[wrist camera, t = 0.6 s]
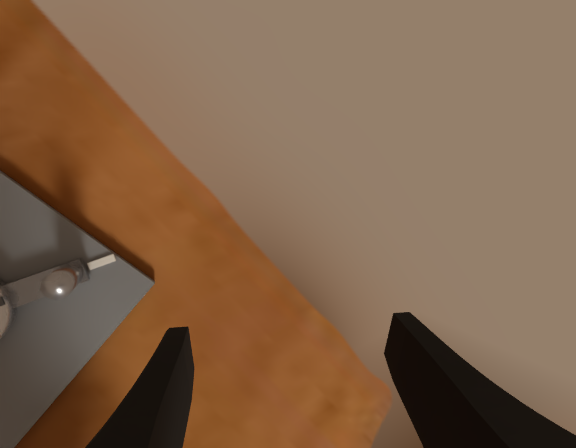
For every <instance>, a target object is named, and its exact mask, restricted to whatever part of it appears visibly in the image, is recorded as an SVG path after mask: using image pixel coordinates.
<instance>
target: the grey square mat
mask: <svg viewBox="0 0 576 448" xmlns="http://www.w3.org/2000/svg"><path fill="white" fill-rule="evenodd" d="M78 258H82V260H83V263H84V265H85V267H86V270H87V272H88V274H89V276H90V279H89V280H88V281H86V282H83V283H80V284H78V285H77V286H76V287H75V288H74V289H73V290H72V292H71V293H70V294H69V295H68V296H66V297H65V298H63V299H59V300H52V299H49V298H47V297H43V298H40V299H37V300H35V301H32V302H29V303H27V304H24V305H21V306H19V307H17V313H16V317H15V320H14V322H13V325H12V326H11V328H10V329H9V330H8V332H7V333H6V334H5V335H4V336H3V337H2V338H1V339H0V448H14V447H15V446H16V445H17V444H18V442H19V441H20V440H21V439H22V438H23V437H24V435H25V434H26V433H27V432H28V431H29V430H30V428H31V427H32V426H33V425H34V424H35V423H36V421H37V420H38V419H39V418H40V417H41V416H42V414H43V413H44V412H45V411H46V410H47V409H48V407H49V406H50V405H51V404H52V403H53V402H54V400H55V399H56V398H57V397H58V396H59V395H60V393H61V392H62V391H63V390H64V389H65V388H66V386H67V385H68V384H69V383H70V382H71V381H72V379H73V378H74V377H75V376H76V375H77V374H78V372H79V371H80V370H81V369H82V368H83V366H84V365H85V364H86V363H87V362H88V361H89V359H90V358H91V357H92V356H93V355H94V354H95V352H96V351H97V350H98V349H99V348H100V347H101V345H102V344H103V343H104V342H105V341H106V340H107V338H108V337H109V336H110V335H111V334H112V333H113V331H114V330H115V329H116V328H117V327H118V326H119V324H120V323H121V322H122V321H123V320H124V319H125V317H126V316H127V315H128V314H129V313H130V312H131V310H132V309H133V308H134V307H135V306H136V305H137V303H138V302H139V301H140V300H141V299H142V298H143V296H144V295H145V294H146V293H147V292H148V290H149V289H150V288H151V287H152V286H153V285H154V283H155V281H154V280H153V279H151V278H150V277H148V276H147V275H146V274H144V273H143V272H141V271H140V270H139V269H137V268H136V267H134V266H133V265H132V264H130V263H129V262H128V261H126V260H125V259H123V258H122V257H121V256H119V255H118V254H116V253H115V252H114V251H112V250H111V249H109V248H108V247H107V246H105V245H104V244H102V243H101V242H100V241H98V240H97V239H95V238H94V237H93V236H91V235H90V234H88V233H87V232H86V231H84V230H83V229H82V228H80V227H79V226H77V225H76V224H75V223H73V222H72V221H70V220H69V219H68V218H66V217H65V216H63V215H62V214H61V213H59V212H58V211H56V210H55V209H54V208H52V207H51V206H49V205H48V204H47V203H45V202H44V201H42V200H41V199H40V198H38V197H37V196H36V195H34V194H33V193H31V192H30V191H29V190H27V189H26V188H24V187H23V186H22V185H20V184H19V183H17V182H16V181H15V180H13V179H12V178H10V177H9V176H8V175H6V174H5V173H3V172H2V171H1V170H0V279H1V280H3V281H4V282H5V283H6V284H7V283H10V282H12V281H15V280H18V279H21V278H24V277H27V276H30V275H33V274H35V273H38V272H41V271H44V270H47V269H50V268H53V267H55V266H58V265H61V264H64V263H67V262H70V261H73V260H75V259H78Z"/></svg>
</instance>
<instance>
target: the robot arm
mask: <svg viewBox="0 0 576 448" xmlns="http://www.w3.org/2000/svg"><path fill="white" fill-rule="evenodd" d="M384 355H385V358H386V361H387V364H388V367H389V370H390V373H391V376H392V379H393V382H394V384H395V386H396V389H397V391H398V393H399V395H400V397H401V400H402V402H403V404H404V406H405V408H406V410H407V413H408V415H409V417H410V419H411V421H412V423H413V425H414V428H415V430H416V432H417V434H418V436H419V438H420V440H421V442H422V444H423V447H424V448H576V435H574V434H572V433H571V432H569V431H567V430H565V429H563V428H562V427H560V426H558V425H557V424H555V423H554V422H552V421H550V420H548V419H547V418H545V417H544V416H542V415H540V414H539V413H537V412H536V411H534V410H533V409H531V408H529V407H528V406H526V405H525V404H523V403H522V402H520V401H519V400H517V399H516V398H515V397H513V396H512V395H510V394H509V393H507V392H506V391H504V390H503V389H501V388H500V387H499V386H497V385H496V384H494V383H493V382H492V381H490V380H489V379H488V378H486V377H485V376H484V375H483V374H481V373H480V372H479V371H478V370H476V369H475V368H474V367H472V366H471V365H470V364H469V363H468V362H466V361H465V360H464V359H463V358H461V357H460V356H459V355H458V354H457V353H455V352H454V351H453V350H452V349H451V348H450V347H448V346H447V345H446V344H445V343H444V342H443V341H441V340H440V339H439V338H438V337H437V336H436V335H435V334H434V333H433V332H431V331H430V330H429V329H428V328H427V327H426V326H425V325H424V324H422V323H421V322H420V321H419V320H418V319H417V318H416V317H414V316H413V315H412V314H411V313H410V312H404V313H393V317H392V321H391V326H390V330H389V334H388V339H387V343H386V347H385V352H384ZM193 379H194V363H193V356H192V349H191V342H190V335H189V328H188V327H176V328H169V329H168V330H167V331H166V333H165V335H164V337H163V338H162V340H161V342H160V344H159V346H158V347H157V349H156V351H155V352H154V354H153V356H152V357H151V359H150V361H149V362H148V364H147V365H146V367H145V368H144V370H143V372H142V373H141V375H140V376H139V378H138V379H137V381H136V382H135V384H134V385H133V387H132V388H131V390H130V391H129V392H128V394H127V395H126V396H125V398H124V399H123V401H122V402H121V403H120V405H119V406H118V407H117V409H116V410H115V412H114V413H113V414H112V415H111V417H110V418H109V419H108V421H107V422H106V423H105V424H104V426H103V427H102V428H101V429H100V431H99V432H98V433H97V434H96V435H95V437H94V438H93V439H92V440H91V441H90V443H89V444H88V445H87V446H86V447H85V448H182V447H183V442H184V437H185V432H186V427H187V422H188V416H189V411H190V406H191V400H192V390H193Z"/></svg>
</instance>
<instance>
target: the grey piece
mask: <svg viewBox="0 0 576 448" xmlns="http://www.w3.org/2000/svg"><path fill="white" fill-rule="evenodd" d="M89 279H90V276H89V274H88V272H87V270H86V267H85V265H84V263H83V260H82V258H78V259H75V260H73V261H70V262H67V263H64V264H61V265H58V266H55V267H53V268H50V269H47V270H44V271H41V272H38V273H35V274H33V275H30V276H27V277H24V278H21V279H18V280H15V281H12V282H10V283H7V284H6V283H5V282H4V281H3V280H1V279H0V339H1V338H2V337H3V336H4V335H5V334H6V333H7V332H8V330H9V329H10V328H11V326H12V325H13V322H14V320H15V317H16V313H17V307H19V306H21V305H24V304H27V303H29V302H32V301H35V300H37V299H40V298H43V297H47V298H49V299H52V300H59V299H63V298H65V297H66V296H68V295H69V294H70V293H71V292H72V290H73V289H74V288H75V287H76V286H77V285H78V284H80V283H83V282H86V281H88V280H89Z"/></svg>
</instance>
